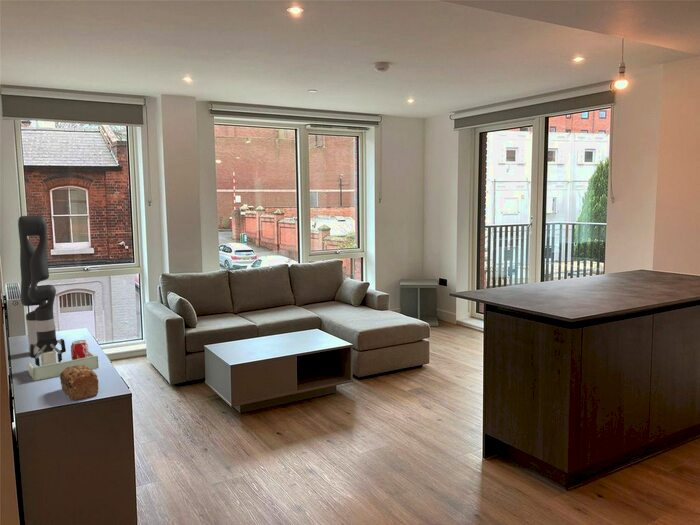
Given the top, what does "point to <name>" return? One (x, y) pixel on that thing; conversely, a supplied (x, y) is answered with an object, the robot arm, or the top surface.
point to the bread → (79, 382)
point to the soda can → (79, 349)
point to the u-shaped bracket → (61, 367)
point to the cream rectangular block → (48, 357)
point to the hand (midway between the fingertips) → (49, 363)
